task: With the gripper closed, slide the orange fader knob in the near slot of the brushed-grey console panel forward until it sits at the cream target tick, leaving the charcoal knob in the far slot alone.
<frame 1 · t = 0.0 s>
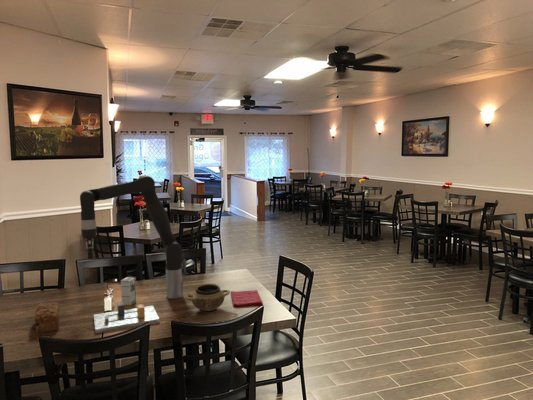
hand: (90, 256, 222), 29 cm above the table, fingers open, 8 cm apart
fader knob: (140, 310, 209), point 5 cm above the table, slide at 0.0 cm
ceramic bowl: (208, 310, 222), on the table
dish towel: (246, 300, 239), on the table
bread: (48, 325, 204), on the table
console panel: (126, 320, 209), on the table
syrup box: (129, 303, 234), on the table
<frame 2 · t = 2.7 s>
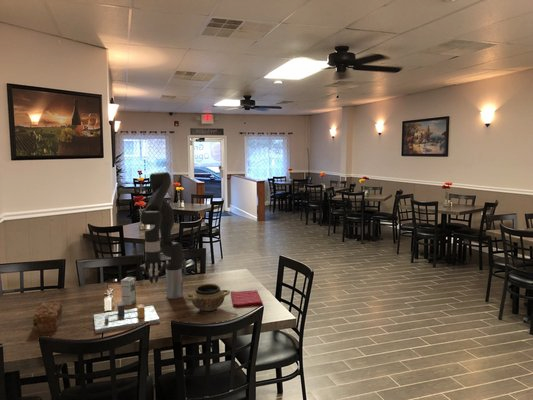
hand: (153, 282, 210), 19 cm above the table, fingers closed
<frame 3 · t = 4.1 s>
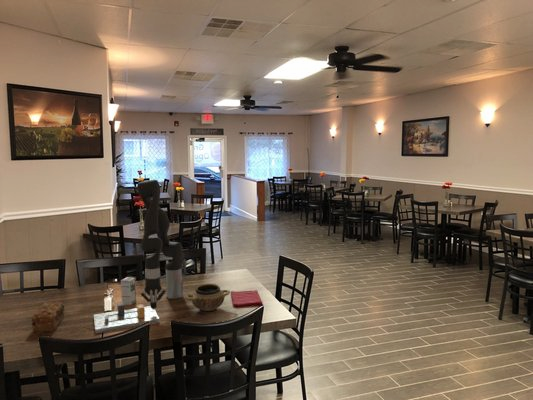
hand: (153, 308, 212), 5 cm above the table, fingers closed
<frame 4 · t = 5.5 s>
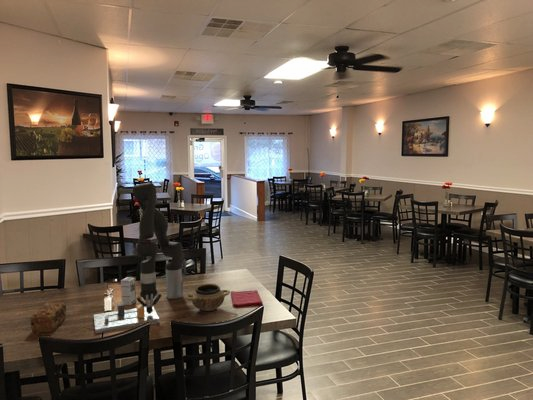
hand: (149, 313, 211), 3 cm above the table, fingers closed
fader knob: (140, 310, 209), point 5 cm above the table, slide at 0.1 cm, touching gripper
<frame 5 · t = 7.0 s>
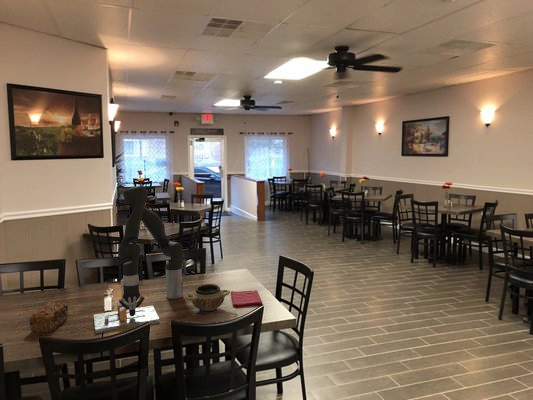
hand: (132, 315, 207), 3 cm above the table, fingers closed
fader knob: (123, 313, 205), point 5 cm above the table, slide at 8.6 cm, touching gripper
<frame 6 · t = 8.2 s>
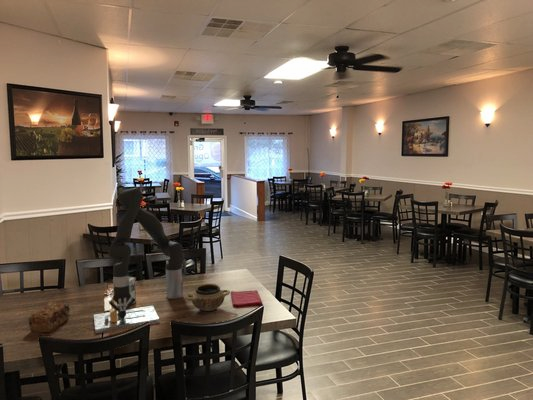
hand: (122, 317, 205), 3 cm above the table, fingers closed
fader knob: (113, 315, 204), point 5 cm above the table, slide at 13.2 cm, touching gripper
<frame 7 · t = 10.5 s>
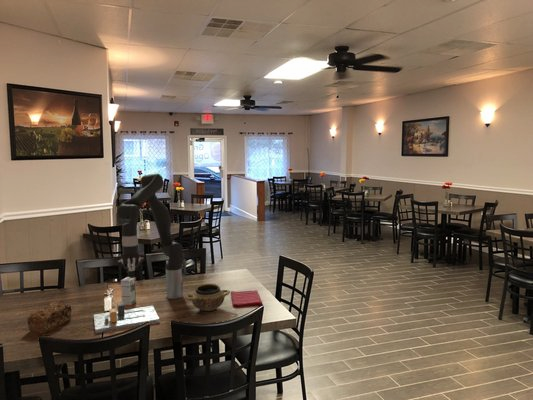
hand: (131, 277, 206), 23 cm above the table, fingers closed
fader knob: (113, 315, 203), point 5 cm above the table, slide at 13.4 cm
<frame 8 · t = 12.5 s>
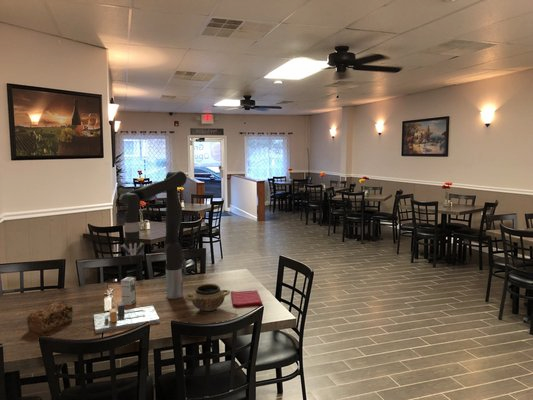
hand: (133, 261, 221), 27 cm above the table, fingers closed
at the end: fader knob slide at 13.4 cm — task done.
